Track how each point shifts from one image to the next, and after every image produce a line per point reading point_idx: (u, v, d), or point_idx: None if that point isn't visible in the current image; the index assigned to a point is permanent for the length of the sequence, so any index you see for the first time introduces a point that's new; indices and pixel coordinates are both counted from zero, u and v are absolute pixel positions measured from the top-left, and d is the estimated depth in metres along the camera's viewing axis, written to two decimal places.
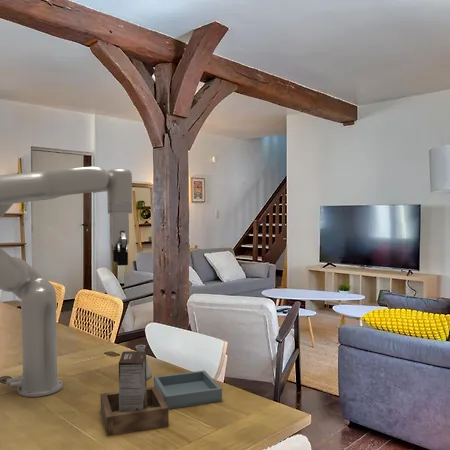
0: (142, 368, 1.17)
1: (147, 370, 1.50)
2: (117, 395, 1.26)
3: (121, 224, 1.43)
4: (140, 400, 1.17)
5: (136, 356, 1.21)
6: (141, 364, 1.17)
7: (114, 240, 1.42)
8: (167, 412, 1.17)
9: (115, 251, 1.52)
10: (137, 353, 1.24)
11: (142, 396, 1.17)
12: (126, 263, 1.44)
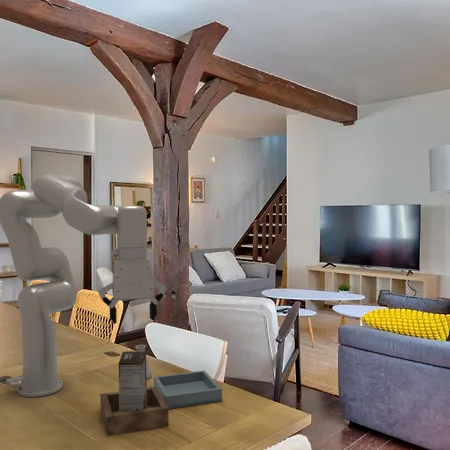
0: (142, 368, 1.17)
1: (147, 370, 1.50)
2: (117, 395, 1.26)
3: None
4: (140, 400, 1.17)
5: (136, 356, 1.21)
6: (141, 364, 1.17)
7: (153, 291, 1.20)
8: (167, 412, 1.17)
9: None
10: (137, 353, 1.24)
11: (142, 396, 1.17)
12: None
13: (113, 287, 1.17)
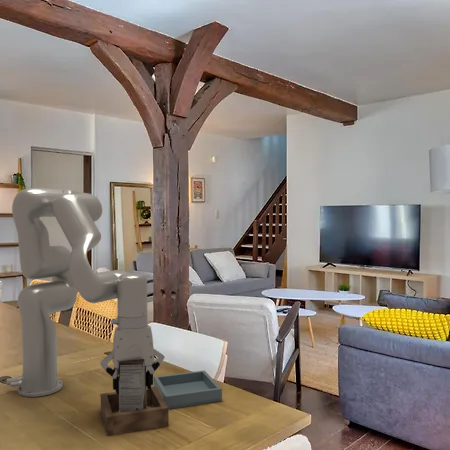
0: (142, 368, 1.17)
1: None
2: (117, 395, 1.26)
3: None
4: (140, 399, 1.17)
5: None
6: (141, 364, 1.17)
7: (153, 359, 1.21)
8: (167, 412, 1.17)
9: None
10: None
11: (142, 396, 1.17)
12: None
13: (113, 356, 1.18)
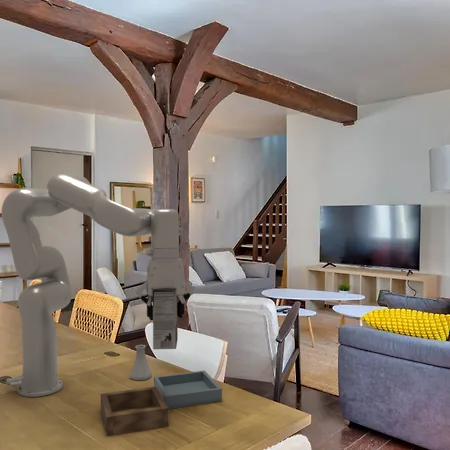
0: (174, 295, 1.25)
1: (147, 370, 1.50)
2: (117, 395, 1.26)
3: None
4: (173, 325, 1.26)
5: None
6: (173, 291, 1.25)
7: (184, 289, 1.29)
8: (167, 412, 1.17)
9: (152, 307, 1.28)
10: None
11: (174, 322, 1.26)
12: None
13: (147, 284, 1.26)
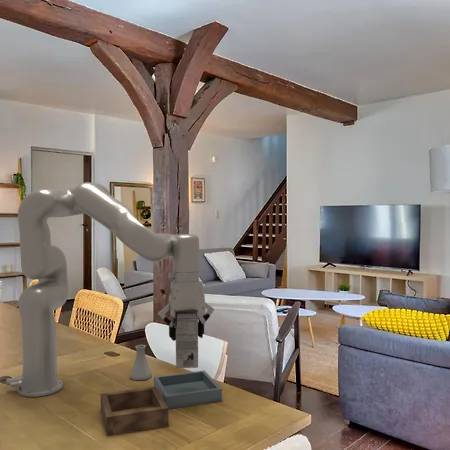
0: (196, 317, 1.32)
1: (147, 370, 1.50)
2: (117, 395, 1.26)
3: None
4: (195, 345, 1.32)
5: None
6: (195, 313, 1.32)
7: None
8: (167, 412, 1.17)
9: None
10: None
11: (196, 342, 1.32)
12: None
13: (170, 307, 1.33)
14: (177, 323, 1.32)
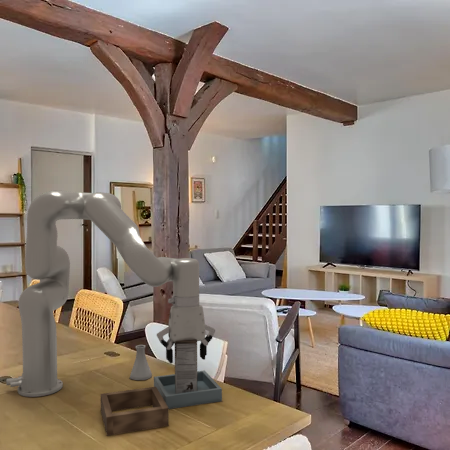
0: (196, 346, 1.32)
1: (147, 370, 1.50)
2: (117, 395, 1.26)
3: None
4: (194, 374, 1.33)
5: None
6: (195, 343, 1.32)
7: (204, 334, 1.36)
8: (167, 412, 1.17)
9: None
10: None
11: (196, 371, 1.33)
12: None
13: (170, 331, 1.33)
14: (176, 353, 1.32)
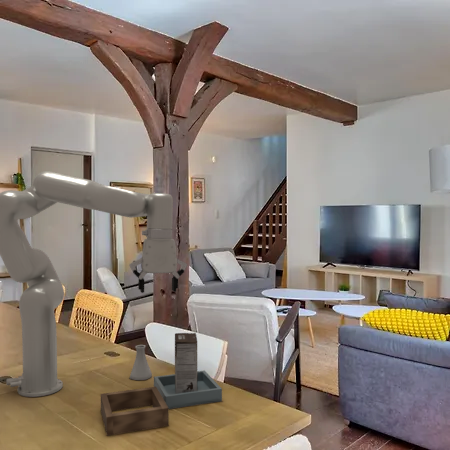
0: (196, 346, 1.32)
1: (147, 370, 1.50)
2: (117, 395, 1.26)
3: None
4: (194, 374, 1.33)
5: (189, 337, 1.36)
6: (195, 343, 1.32)
7: (176, 267, 1.41)
8: (167, 412, 1.17)
9: None
10: (188, 334, 1.39)
11: (196, 371, 1.33)
12: None
13: (142, 261, 1.39)
14: (177, 353, 1.32)
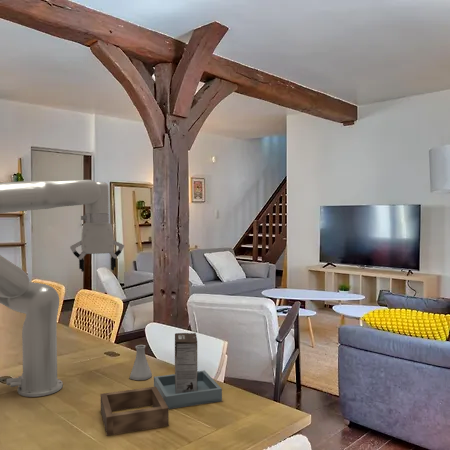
0: (196, 346, 1.32)
1: (147, 370, 1.50)
2: (117, 395, 1.26)
3: None
4: (194, 374, 1.33)
5: (189, 337, 1.36)
6: (195, 343, 1.32)
7: (113, 247, 1.57)
8: (167, 412, 1.17)
9: (83, 261, 1.55)
10: (188, 334, 1.39)
11: (196, 371, 1.33)
12: None
13: (81, 243, 1.54)
14: (177, 353, 1.32)
